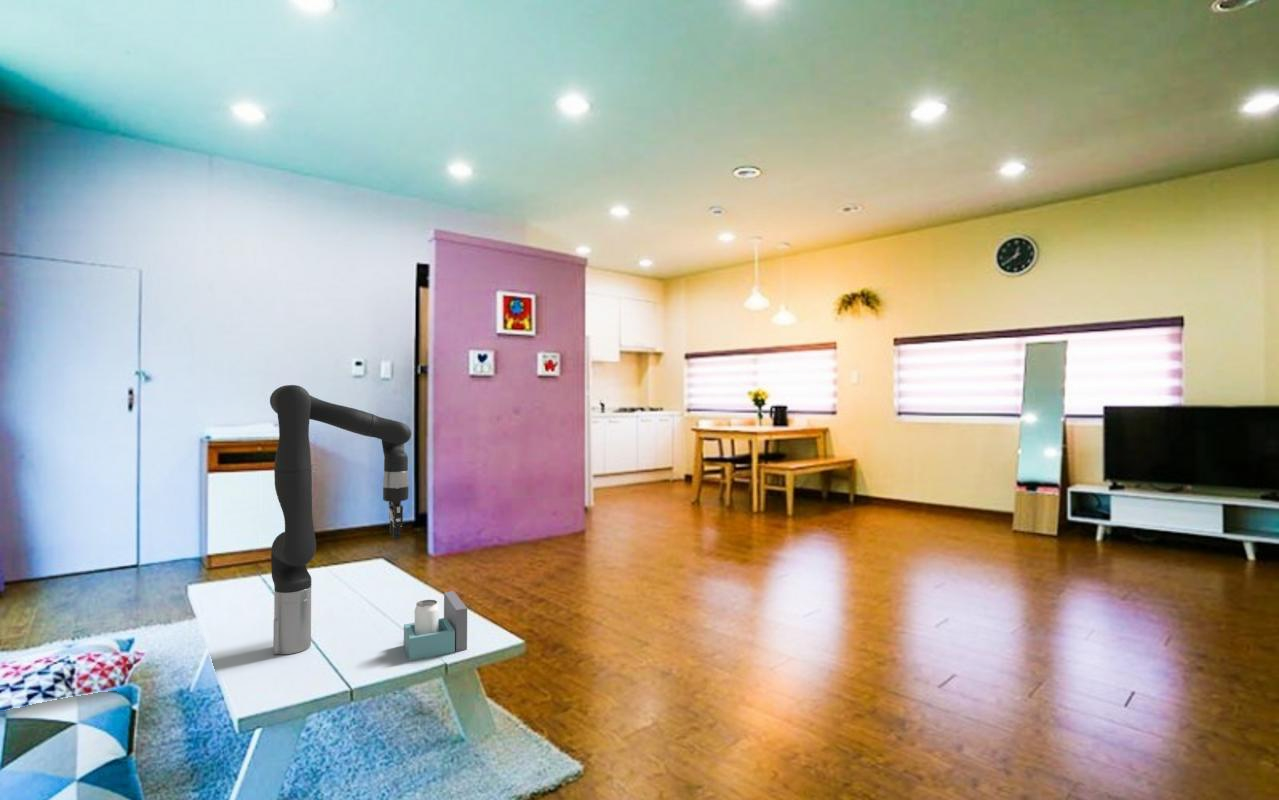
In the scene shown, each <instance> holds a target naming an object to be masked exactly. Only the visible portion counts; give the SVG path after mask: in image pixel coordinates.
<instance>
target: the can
mask: <svg viewBox="0 0 1279 800" xmlns="http://www.w3.org/2000/svg"><path fill="white" fill-rule="evenodd" d="M439 609H440V608H439V605H438V601H437V600H435V599H423V600H420V601H417V602H416V606H415V608H414V623H415V631H414V635H415V636H417V635H423V634H429V633H435V632H438V625H439V619H440V617H439V616H440V615H439V614H440V613H439Z"/></svg>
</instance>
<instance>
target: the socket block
mask: <svg viewBox="0 0 1279 800" xmlns="http://www.w3.org/2000/svg"><path fill="white" fill-rule="evenodd" d="M414 631H415V622H411V623H405V624H403V646H404V650H405V652H406V654H407V658H408V659H409V662H410V661H411V662H412V661H414V660H415V661H416V660H422V659H426V658H432V657H437V656H443V655H448V654H449V655H450V654H453V653H456V650H455V630H454V629H453V627H452V625H451V624H450V622H449V621H448V619H447V618H444V617H442V618H439V625H438V632H435V633H429V634H423V635H417V636H415V635H414Z"/></svg>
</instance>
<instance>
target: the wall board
mask: <svg viewBox="0 0 1279 800" xmlns="http://www.w3.org/2000/svg"><path fill="white" fill-rule="evenodd" d="M443 618H447V619H448V621H449V622H450V624H451V625H452V627H453V629H454V630H455V653H456V652H461V651H462V652H463V651H467V650H468V607H467V606H466V604H465V603H464V602H463V600H461V598H460V596H458V594H457V593H456V592H455V590H451V591H444V593H443Z"/></svg>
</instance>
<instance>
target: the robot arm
mask: <svg viewBox="0 0 1279 800" xmlns="http://www.w3.org/2000/svg"><path fill="white" fill-rule="evenodd" d="M269 403H270V407H271V409H272V410H273V412H275V414H277V421H278V433H279V435H278V443H277V447H276V452H275V458H274V469H273V470H274V471H273V472H274V489H275V493H276V496H277V500H278V503H279V506H280V508H281V510H282V514H283V517H284V518H283V519H284V531H283V532H281V533H280V534H278V535H277V536H276V537H275V539H274V540H273V542H272V545H271V550H270V565H271V579H272V582H273V584H274V585H273V586H274V592H273V593H274V595H273V596H274V598H273V599H274V600H273V601H274V602H273V603H274V607H273V610H274V612H273V613H274V614H273V644H272V645H273V653H272V654H275V655H291V654H298V653H301V652H303V651H306V650H308V649H309V648H310V647H311V646H312V576H311V574H310V572H309V570H308V569H307V568H308V567H307V565H308V564H309V563H310V562H311V561H312V560H313V558H314V556H316V555H315V554H316V550H317V541H316V540H317V539H316V534H315V533H316V532H315V528H314V520H313V489H312V488H313V487H312V485H313V484H312V483H313V479H312V477H313V474H312V473H313V472H312V469H313V468H312V457H311V455H312V454H311V444H310V436H309V435H310V431H309V430H310V429H309V428H310V420H311V421H316V422H320V423H323V424H327V425H329V426H332V427H335V428H339V429H342V430H345V431H347V432H351V433H354V434H358V435H361V436H364V437H369V438H375V439H378V440H380V441H381V445H382V452H383V456H384V458H383V460H384V462H383V463H384V464H383V477H382V478H383V479H382V501H384V502H388V520H389V521H388V522H389V533H390V534H391V535H392V536H393V537H392V538H393V539H394V540H400V539H402V527H403V525H404V523H403V522H404V519H403V518H404V506H403V505H402V504H401V503H402V502H405V501H407V500H408V499H409V490H410V489H409V487H410V486H409V471H408V470H409V469H408V468H409V467H408V466H409V459H408V458H409V457H408V454H407V453H406V451H405V444H406V443H408V442H409V441H410V440H411V437H412V430H411V428H410V426H409V425H408V424H405V423H404V422H401V421H397V420H394V419H389V418H384V417H381V416H378V415H375V414H373V413H370V412H366V411H364V410H361V409H356V408H354V407H349V406H344V405H340V404H336V403H332V402H328V401H325V400H322V399H319V398H317V397H315V396H313V395H310V393H309V392H308V390H307V389H305V388H304V387H303V386H300V385H297V384H289V385H288V384H287V385H282V386H280V387H278V388H276V389H275V390H274V391H273V392H272V393H271V395H270V397H269Z"/></svg>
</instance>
